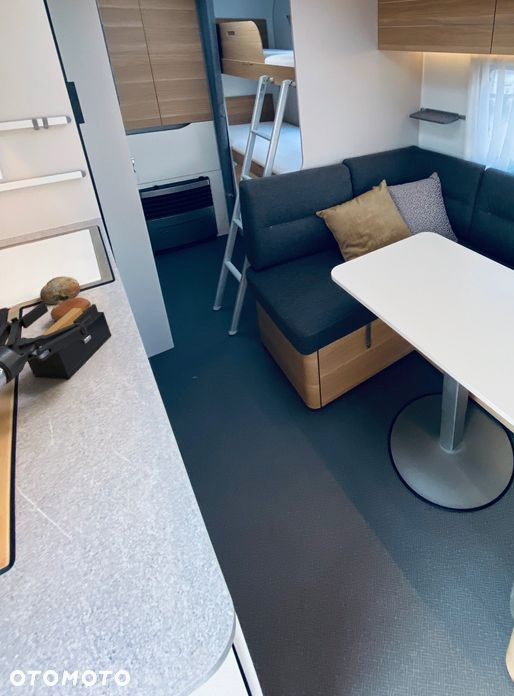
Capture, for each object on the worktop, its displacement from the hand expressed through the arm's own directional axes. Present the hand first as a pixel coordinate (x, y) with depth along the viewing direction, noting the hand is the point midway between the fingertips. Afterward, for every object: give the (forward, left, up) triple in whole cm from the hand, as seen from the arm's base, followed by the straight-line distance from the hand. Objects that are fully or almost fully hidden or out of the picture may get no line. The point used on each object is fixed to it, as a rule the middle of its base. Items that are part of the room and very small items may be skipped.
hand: (70, 307), depth 103 cm
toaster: (0, -3, -13) cm, 13 cm away
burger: (-12, +11, -13) cm, 20 cm away
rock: (-24, +21, -13) cm, 34 cm away
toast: (0, -3, -11) cm, 11 cm away
